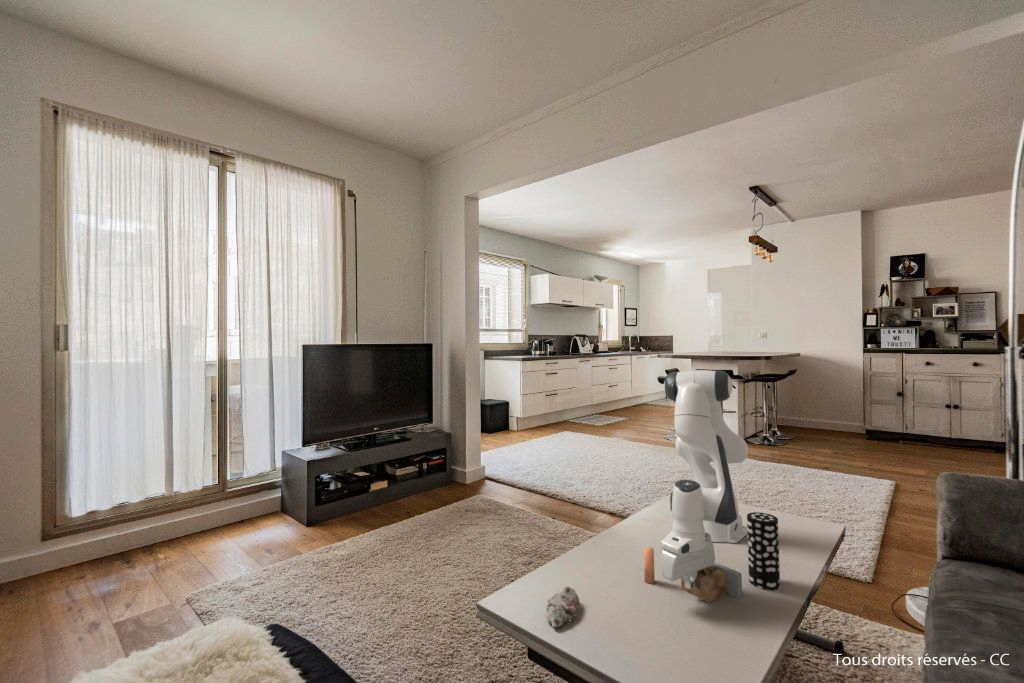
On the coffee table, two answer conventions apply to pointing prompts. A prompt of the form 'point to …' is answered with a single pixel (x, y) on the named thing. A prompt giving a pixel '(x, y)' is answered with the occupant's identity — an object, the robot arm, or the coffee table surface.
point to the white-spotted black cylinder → (763, 551)
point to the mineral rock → (562, 607)
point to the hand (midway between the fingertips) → (689, 587)
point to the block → (708, 584)
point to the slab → (732, 580)
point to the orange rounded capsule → (649, 565)
